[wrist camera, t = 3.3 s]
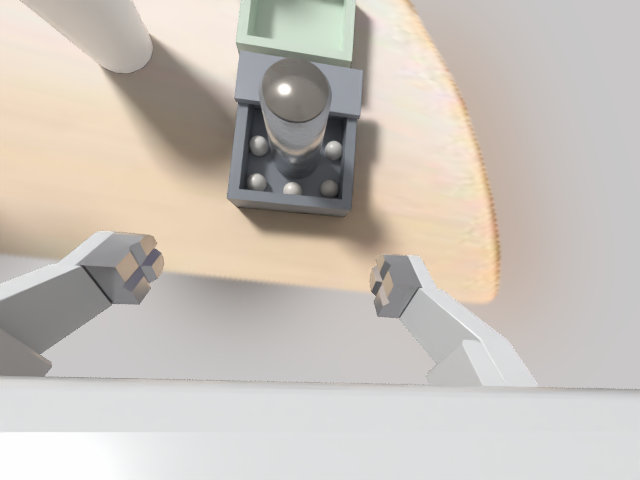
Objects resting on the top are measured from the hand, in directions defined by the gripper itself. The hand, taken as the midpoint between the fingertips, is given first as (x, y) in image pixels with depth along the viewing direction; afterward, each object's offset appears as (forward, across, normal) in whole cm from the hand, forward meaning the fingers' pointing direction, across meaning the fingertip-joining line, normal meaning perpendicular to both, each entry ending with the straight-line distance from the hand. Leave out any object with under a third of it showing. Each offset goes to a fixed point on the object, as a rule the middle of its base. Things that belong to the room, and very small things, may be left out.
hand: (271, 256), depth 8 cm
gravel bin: (+20, 0, +3) cm, 21 cm away
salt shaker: (+19, 0, +3) cm, 19 cm away
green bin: (+31, +1, -8) cm, 32 cm away
